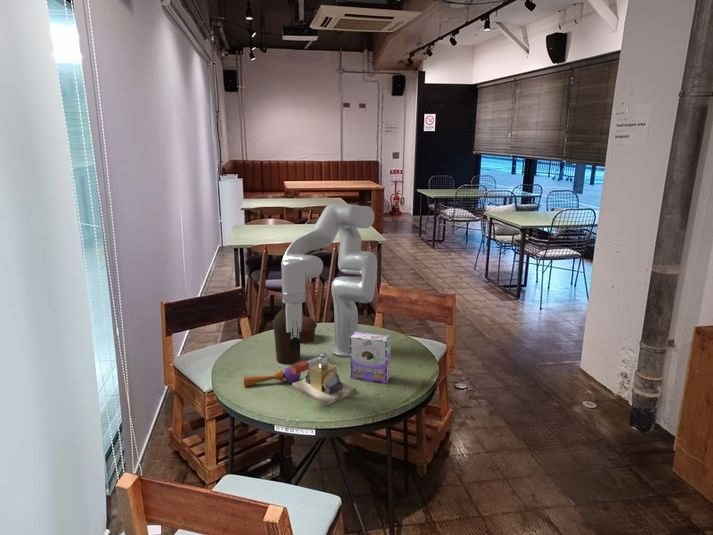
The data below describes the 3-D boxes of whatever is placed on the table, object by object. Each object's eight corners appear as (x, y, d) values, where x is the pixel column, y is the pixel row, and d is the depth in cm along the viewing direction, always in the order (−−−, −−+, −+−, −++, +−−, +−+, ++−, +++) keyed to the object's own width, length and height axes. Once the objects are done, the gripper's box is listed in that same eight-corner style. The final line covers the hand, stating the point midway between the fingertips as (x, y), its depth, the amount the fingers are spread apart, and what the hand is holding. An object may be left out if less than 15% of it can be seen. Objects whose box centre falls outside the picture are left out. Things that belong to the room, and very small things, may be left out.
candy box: (390, 377, 180) (391, 335, 176) (386, 384, 175) (386, 341, 171) (355, 371, 184) (355, 330, 180) (350, 378, 179) (349, 336, 175)
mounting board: (322, 374, 182) (322, 371, 182) (356, 391, 169) (356, 387, 169) (292, 387, 173) (292, 383, 172) (325, 406, 160) (325, 402, 160)
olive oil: (294, 366, 189) (292, 305, 183) (270, 362, 192) (266, 302, 186) (306, 355, 199) (304, 296, 193) (282, 352, 202) (280, 294, 196)
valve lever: (323, 363, 171) (323, 351, 170) (329, 366, 169) (329, 354, 168) (290, 376, 162) (289, 364, 160) (296, 379, 159) (295, 367, 158)
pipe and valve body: (319, 376, 178) (319, 358, 176) (343, 388, 168) (343, 369, 167) (304, 382, 173) (303, 364, 171) (328, 395, 164) (327, 376, 162)
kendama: (243, 371, 177) (298, 362, 180) (245, 387, 177) (301, 378, 180) (242, 376, 171) (299, 366, 174) (245, 392, 171) (302, 383, 175)
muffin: (300, 347, 207) (299, 324, 205) (285, 339, 215) (284, 318, 213) (322, 339, 215) (322, 318, 213) (307, 332, 223) (306, 311, 221)
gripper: (282, 290, 168) (283, 341, 172) (282, 303, 154) (284, 358, 158) (304, 290, 169) (305, 340, 173) (306, 302, 155) (307, 357, 159)
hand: (295, 348), depth 165 cm, fingers closed
